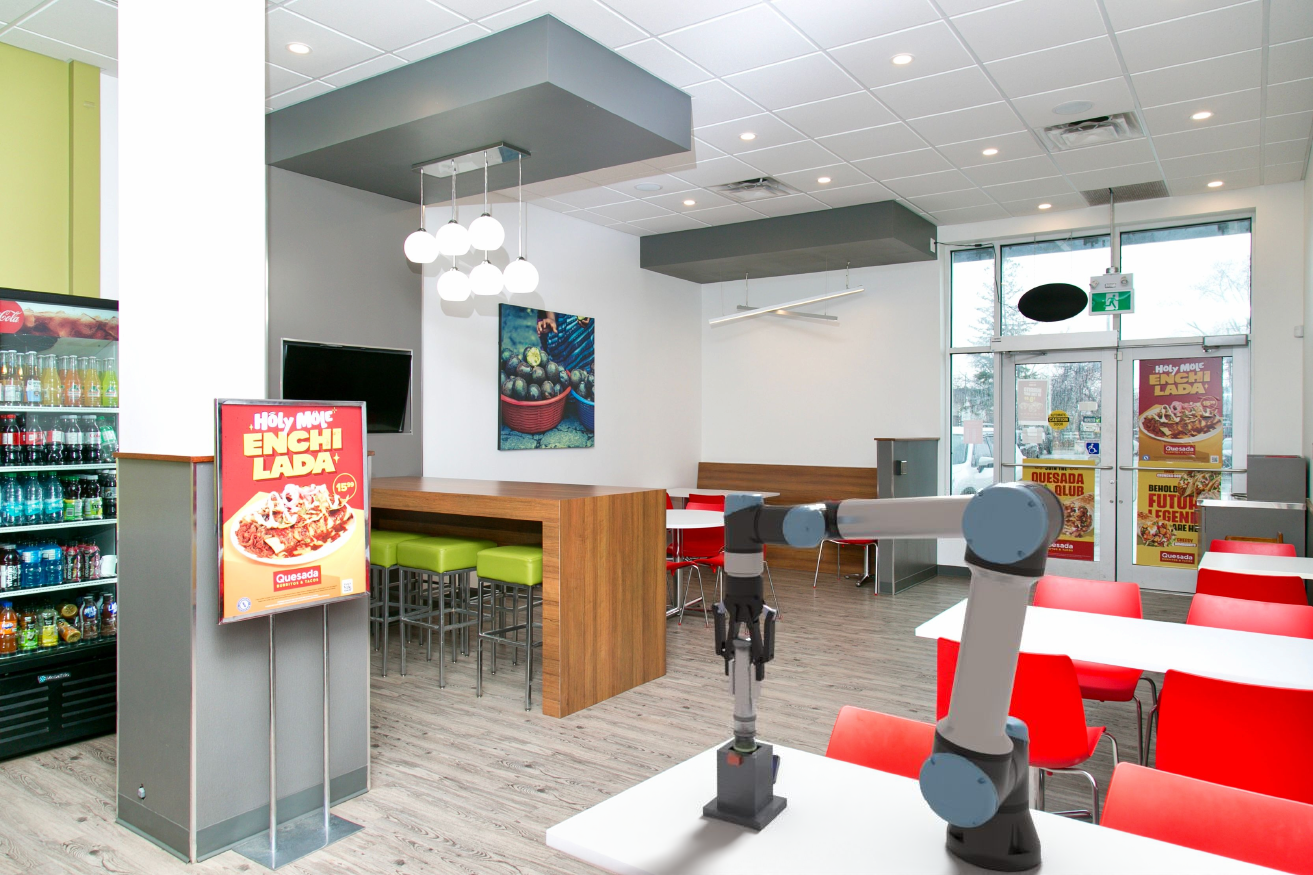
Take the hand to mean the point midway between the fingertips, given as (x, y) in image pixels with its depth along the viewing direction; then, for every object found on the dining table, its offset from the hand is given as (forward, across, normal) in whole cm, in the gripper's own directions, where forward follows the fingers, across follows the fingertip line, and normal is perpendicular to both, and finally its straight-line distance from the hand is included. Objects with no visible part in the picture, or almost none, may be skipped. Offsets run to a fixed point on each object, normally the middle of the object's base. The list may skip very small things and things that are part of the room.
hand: (744, 694), depth 156 cm
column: (+12, 0, 0) cm, 12 cm away
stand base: (+22, 0, 0) cm, 22 cm away
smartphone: (+23, +6, -20) cm, 31 cm away
